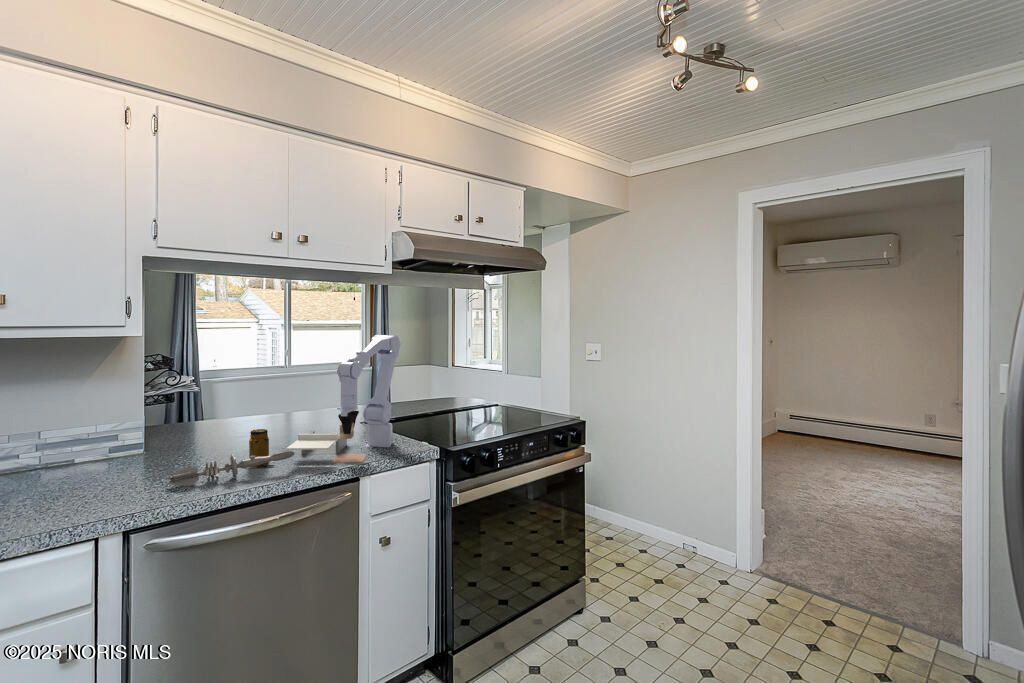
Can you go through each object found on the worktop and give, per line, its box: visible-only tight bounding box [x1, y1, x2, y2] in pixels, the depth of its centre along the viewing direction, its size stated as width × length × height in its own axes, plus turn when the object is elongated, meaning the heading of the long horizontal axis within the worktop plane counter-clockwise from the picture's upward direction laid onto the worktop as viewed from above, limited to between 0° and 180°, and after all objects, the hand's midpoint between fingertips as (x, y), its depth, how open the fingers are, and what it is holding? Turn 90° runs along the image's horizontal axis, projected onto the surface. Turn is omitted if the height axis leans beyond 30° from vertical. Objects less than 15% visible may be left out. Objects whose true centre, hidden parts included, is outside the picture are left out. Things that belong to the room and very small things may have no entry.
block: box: [339, 423, 355, 440], centre depth 186 cm, size 4×4×5 cm
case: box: [301, 430, 348, 455], centre depth 194 cm, size 13×13×6 cm
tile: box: [332, 453, 368, 463], centre depth 183 cm, size 10×10×1 cm
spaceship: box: [166, 450, 295, 487], centre depth 160 cm, size 8×35×8 cm
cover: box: [286, 433, 339, 451], centre depth 179 cm, size 14×13×2 cm
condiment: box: [248, 428, 275, 469], centre depth 175 cm, size 7×8×12 cm
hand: (348, 432), depth 186 cm, fingers closed on block, 4 cm apart
